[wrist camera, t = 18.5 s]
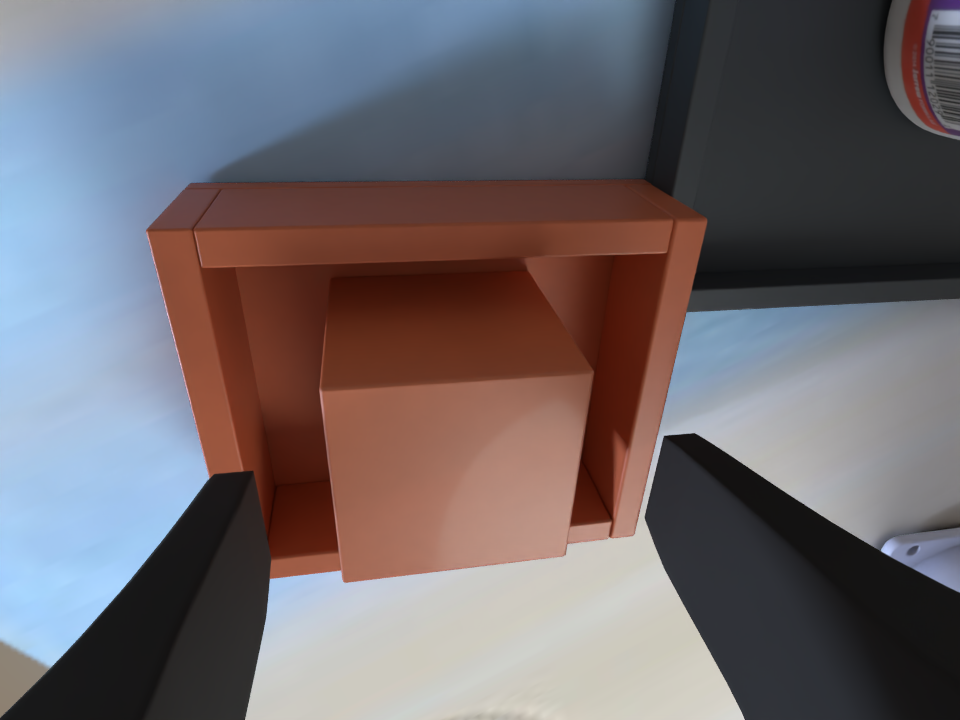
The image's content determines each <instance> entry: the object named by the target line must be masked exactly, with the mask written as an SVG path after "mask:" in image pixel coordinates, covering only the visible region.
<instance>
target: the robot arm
mask: <svg viewBox="0 0 960 720" xmlns="http://www.w3.org/2000/svg"><path fill="white" fill-rule="evenodd" d="M645 520H646V523H647V526H648V528H649V531H650V534H651V536H652V539H653V542H654V544H655V547H656V549H657V552H658V554H659V557H660V559H661V561H662V564H663V566H664V569H665V571H666V572H667V574H668V576H669V578H670V580H671V582H672V584H673V586H674V587H675V589H676V591H677V593H678V595H679V597H680V599H681V600H682V602H683V604H684V606H685V608H686V610H687V611H688V613H689V615H690V617H691V619H692V620H693V622H694V624H695V626H696V628H697V629H698V631H699V633H700V635H701V637H702V639H703V640H704V642H705V644H706V646H707V648H708V649H709V651H710V653H711V655H712V657H713V658H714V660H715V662H716V664H717V666H718V667H719V669H720V671H721V673H722V675H723V676H724V678H725V680H726V682H727V684H728V686H729V688H730V690H731V692H732V694H733V696H734V698H735V700H736V702H737V704H738V706H739V708H740V710H741V712H742V714H743V716H744V719H745V720H960V528H952V529H944V530H936V531H929V532H921V533H913V534H905V535H898V536H894V537H892V538H890V539H889V540H888V541H887V542H886V543H885V544H884V546H883V547H882V549H881V551H879V550H878V549H876V548H874V547H872V546H871V545H869V544H867V543H866V542H864V541H862V540H861V539H859V538H857V537H856V536H854V535H852V534H851V533H849V532H847V531H846V530H844V529H842V528H841V527H839V526H837V525H836V524H834V523H832V522H831V521H829V520H827V519H826V518H824V517H823V516H821V515H819V514H818V513H816V512H815V511H813V510H812V509H810V508H808V507H807V506H805V505H804V504H802V503H801V502H799V501H798V500H796V499H794V498H793V497H791V496H790V495H788V494H787V493H785V492H784V491H782V490H781V489H779V488H778V487H776V486H775V485H773V484H772V483H770V482H769V481H767V480H766V479H764V478H763V477H761V476H760V475H758V474H757V473H755V472H754V471H752V470H751V469H749V468H748V467H746V466H745V465H743V464H742V463H740V462H739V461H738V460H736V459H735V458H733V457H732V456H730V455H728V454H727V453H725V452H724V451H722V450H721V449H719V448H718V447H716V446H715V445H713V444H712V443H710V442H708V441H707V440H705V439H704V438H702V437H700V436H699V435H697V434H695V433H692V434H681V435H669V436H664V438H663V442H662V446H661V451H660V455H659V459H658V463H657V467H656V472H655V476H654V480H653V484H652V488H651V493H650V497H649V501H648V505H647V509H646V514H645ZM270 569H271V554H270V549H269V544H268V539H267V534H266V529H265V524H264V519H263V515H262V510H261V505H260V500H259V495H258V490H257V485H256V480H255V476H254V471H242V472H230V473H218V474H214V475H213V476H212V477H211V478H210V479H209V480H208V481H207V482H206V484H205V485H204V486H203V488H202V489H201V490H200V492H199V493H198V494H197V496H196V497H195V498H194V500H193V501H192V502H191V504H190V505H189V506H188V508H187V509H186V510H185V512H184V513H183V514H182V516H181V517H180V518H179V520H178V521H177V522H176V524H175V525H174V526H173V527H172V529H171V530H170V531H169V533H168V534H167V535H166V537H165V538H164V539H163V540H162V542H161V543H160V544H159V545H158V547H157V548H156V549H155V550H154V552H153V553H152V554H151V555H150V556H149V558H148V559H147V560H146V561H145V563H144V564H143V565H142V566H141V568H140V569H139V570H138V571H137V572H136V574H135V575H134V576H133V577H132V579H131V580H130V581H129V582H128V583H127V585H126V586H125V587H124V588H123V589H122V590H121V592H120V593H119V594H118V595H117V596H116V597H115V598H114V600H113V601H112V602H111V603H110V604H109V605H108V606H107V607H106V608H105V610H104V611H103V612H102V613H101V614H100V615H99V616H98V617H97V619H96V620H95V621H94V622H93V623H92V624H91V625H90V626H89V628H88V629H87V630H86V631H85V632H84V633H83V634H82V635H81V637H80V638H79V639H78V640H77V641H76V642H75V643H74V644H73V645H72V646H71V647H70V648H69V649H68V650H67V652H66V653H65V654H64V655H63V656H62V657H61V658H60V659H59V660H58V661H57V662H56V663H55V664H54V665H53V666H52V667H51V668H50V669H49V670H48V671H47V672H46V673H45V674H44V675H43V676H42V677H41V679H39V680H38V681H37V682H36V683H35V685H33V686H32V687H31V688H30V689H29V690H28V691H27V692H26V693H25V694H24V695H23V696H22V697H21V698H20V699H19V700H18V701H17V702H16V703H15V704H14V705H13V706H12V707H11V708H10V709H9V710H8V711H7V712H6V713H5V714H4V715H3V716H2V717H1V718H0V720H245V717H246V712H247V707H248V703H249V698H250V693H251V688H252V684H253V679H254V674H255V669H256V665H257V660H258V655H259V650H260V645H261V640H262V635H263V630H264V625H265V620H266V613H267V603H268V593H269V581H270Z"/></svg>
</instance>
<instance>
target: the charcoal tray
mask: <svg viewBox="0 0 960 720" xmlns="http://www.w3.org/2000/svg"><path fill="white" fill-rule="evenodd" d="M891 3H892V0H676V4H675V9H674V15H673V21H672V27H671V33H670V38H669V44H668V50H667V56H666V61H665V67H664V73H663V79H662V85H661V90H660V96H659V102H658V108H657V113H656V119H655V125H654V131H653V137H652V142H651V148H650V154H649V160H648V165H647V171H646V177H645V180H646V181H647V182H649V183H651V184H652V185H653V186H655V187H656V188H658V189H660V190H661V191H663V192H665V193H666V194H668V195H670V196H671V197H673V198H674V199H676V200H678V201H679V202H681V203H683V204H684V205H686V206H688V207H689V208H691V209H693V210H694V211H696V212H698V213H699V214H701V215H703V216H704V217H706V218H707V226H706V230H705V234H704V238H703V243H702V247H701V251H700V256H699V260H698V264H697V268H696V273H695V277H694V281H693V285H692V290H691V294H690V298H689V303H688V307H687V311H686V312H700V311H720V310H740V309H759V308H779V307H799V306H819V305H839V304H859V303H879V302H899V301H919V300H939V299H959V298H960V140H957V139H953V138H949V137H945V136H941V135H938V134H935V133H932V132H929V131H927V130H924V129H922V128H921V127H919V126H917V125H916V124H914V123H913V122H912V121H911V120H909V119H908V118H907V117H906V116H905V115H904V114H903V113H902V111H901V110H900V109H899V107H898V106H897V104H896V103H895V101H894V99H893V97H892V96H891V93H890V90H889V88H888V85H887V81H886V77H885V69H884V39H885V29H886V24H887V18H888V14H889V10H890V6H891Z"/></svg>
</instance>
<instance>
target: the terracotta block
mask: <svg viewBox="0 0 960 720" xmlns="http://www.w3.org/2000/svg"><path fill="white" fill-rule="evenodd" d="M593 375H594V371H593V369H592V367H591V366H590V364H589V363H588V361H587V360H586V358H585V357H584V355H583V354H582V352H581V351H580V349H579V347H578V346H577V344H576V343H575V341H574V340H573V338H572V337H571V335H570V334H569V332H568V331H567V329H566V328H565V326H564V325H563V323H562V321H561V320H560V318H559V317H558V315H557V314H556V312H555V311H554V309H553V308H552V306H551V305H550V303H549V302H548V300H547V298H546V297H545V295H544V294H543V292H542V291H541V289H540V288H539V286H538V285H537V283H536V282H535V280H534V279H533V277H532V276H531V274H530V272H528V271H512V272H484V273H456V274H428V275H400V276H372V277H344V278H331V279H330V282H329V293H328V303H327V314H326V325H325V335H324V346H323V357H322V367H321V378H320V388H319V392H320V400H321V408H322V417H323V425H324V433H325V441H326V449H327V458H328V466H329V474H330V482H331V490H332V499H333V507H334V515H335V523H336V531H337V540H338V548H339V556H340V564H341V572H342V580H343V581H344V582H345V583H347V582H356V581H364V580H372V579H380V578H388V577H397V576H405V575H413V574H421V573H430V572H438V571H446V570H454V569H463V568H471V567H479V566H487V565H496V564H504V563H512V562H520V561H529V560H537V559H545V558H553V557H562V556H565V555H566V549H567V542H568V536H569V529H570V523H571V516H572V510H573V504H574V497H575V491H576V484H577V478H578V471H579V465H580V458H581V452H582V446H583V439H584V433H585V426H586V420H587V413H588V407H589V400H590V394H591V388H592V381H593Z"/></svg>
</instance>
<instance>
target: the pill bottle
mask: <svg viewBox="0 0 960 720" xmlns="http://www.w3.org/2000/svg"><path fill="white" fill-rule="evenodd" d="M884 69H885V77H886V81H887V85H888V88H889V90H890V93H891V96H892V97H893V99H894V101H895V103H896V104H897V106H898V107H899V109H900V110H901V111H902V113H903V114H904V115H905V116H906V117H907V118H908V119H909V120H911V121H912V122H913V123H914V124H916V125H917V126H919V127H921V128H922V129H924V130H927V131H929V132H932V133H935V134H938V135H941V136H945V137H949V138H953V139H957V140H960V0H892V3H891V6H890V10H889V14H888V18H887V24H886V29H885V39H884Z"/></svg>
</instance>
